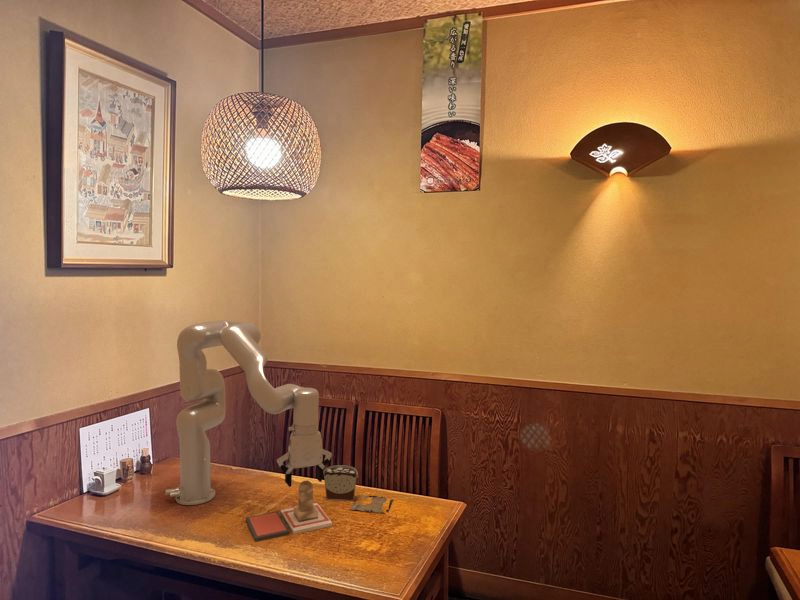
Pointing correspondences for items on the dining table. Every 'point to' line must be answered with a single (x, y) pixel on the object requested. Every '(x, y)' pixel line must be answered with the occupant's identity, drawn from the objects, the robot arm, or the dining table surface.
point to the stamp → (305, 503)
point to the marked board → (305, 525)
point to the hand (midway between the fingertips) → (304, 482)
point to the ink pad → (267, 526)
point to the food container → (340, 482)
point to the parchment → (371, 504)
